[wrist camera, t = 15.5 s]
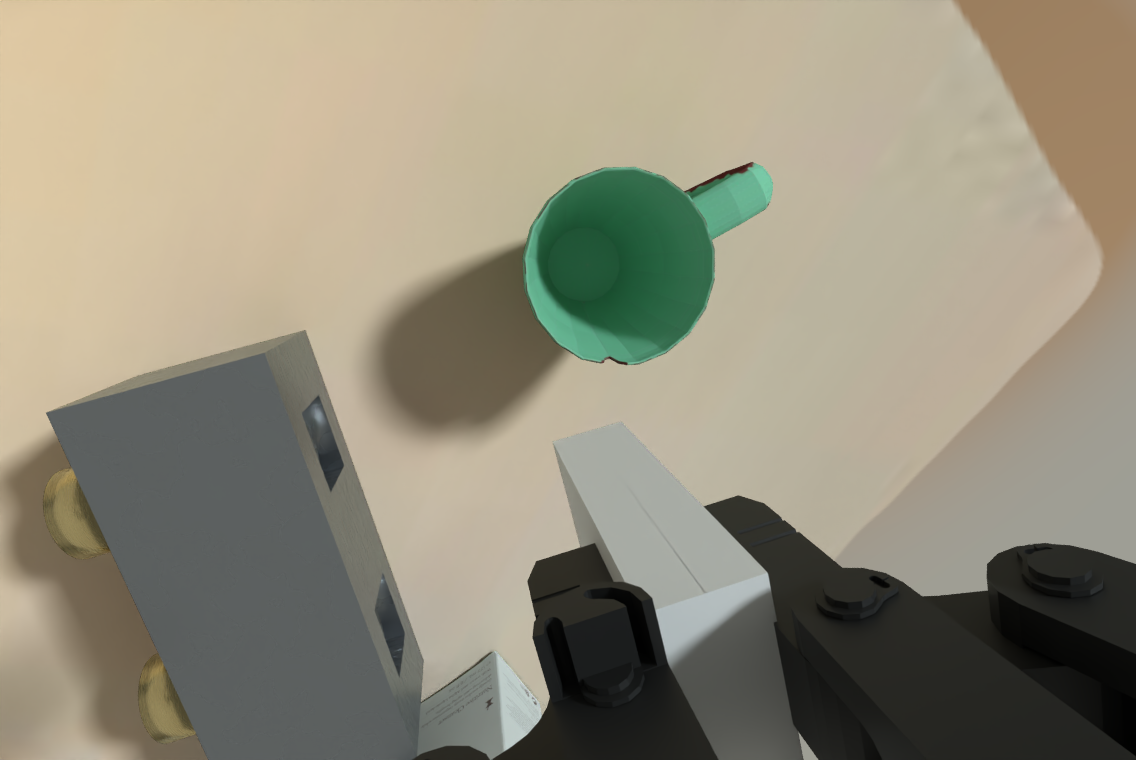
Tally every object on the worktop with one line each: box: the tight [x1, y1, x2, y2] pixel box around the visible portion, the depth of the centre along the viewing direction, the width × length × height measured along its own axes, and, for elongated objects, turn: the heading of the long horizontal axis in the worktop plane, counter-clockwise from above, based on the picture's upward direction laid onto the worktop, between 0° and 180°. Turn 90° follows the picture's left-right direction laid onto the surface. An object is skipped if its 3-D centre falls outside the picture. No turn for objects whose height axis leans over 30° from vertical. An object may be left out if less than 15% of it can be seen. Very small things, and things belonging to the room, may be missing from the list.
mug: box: [522, 162, 773, 365], centre depth 37 cm, size 15×10×10 cm
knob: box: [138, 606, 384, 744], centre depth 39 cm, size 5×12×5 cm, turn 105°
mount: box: [46, 330, 424, 760], centre depth 38 cm, size 24×10×9 cm, turn 15°
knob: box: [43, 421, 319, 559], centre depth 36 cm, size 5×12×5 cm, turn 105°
